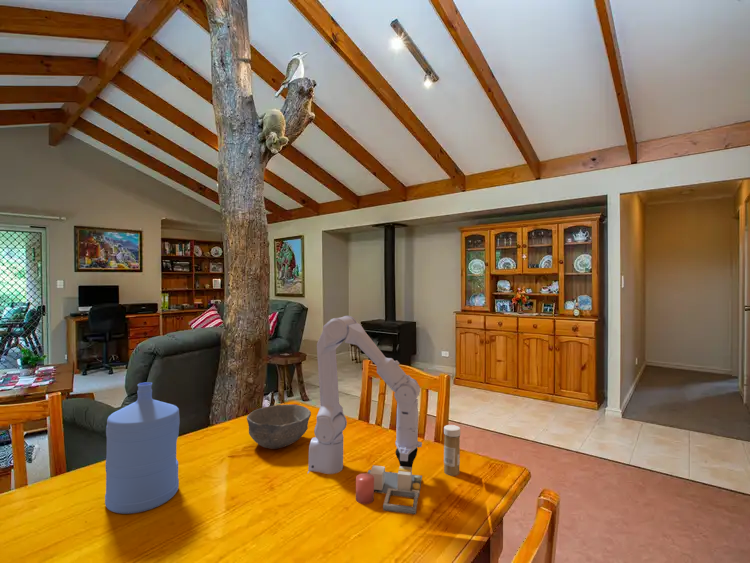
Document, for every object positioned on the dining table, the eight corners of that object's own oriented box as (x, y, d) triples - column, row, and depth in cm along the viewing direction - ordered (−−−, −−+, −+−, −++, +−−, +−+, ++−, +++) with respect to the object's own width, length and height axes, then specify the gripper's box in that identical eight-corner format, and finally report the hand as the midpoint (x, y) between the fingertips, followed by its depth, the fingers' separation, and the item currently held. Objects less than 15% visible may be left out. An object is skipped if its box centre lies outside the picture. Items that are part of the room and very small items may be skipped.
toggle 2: (397, 489, 100) (397, 473, 100) (399, 481, 104) (399, 465, 104) (409, 491, 99) (410, 474, 99) (411, 482, 104) (411, 466, 104)
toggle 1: (369, 488, 100) (369, 473, 100) (372, 480, 104) (373, 465, 104) (381, 490, 99) (382, 474, 99) (384, 481, 104) (385, 466, 104)
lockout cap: (353, 506, 95) (354, 481, 95) (358, 496, 99) (358, 472, 99) (371, 508, 94) (372, 483, 94) (375, 498, 98) (375, 474, 98)
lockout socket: (383, 513, 92) (383, 505, 92) (388, 496, 99) (388, 488, 99) (415, 517, 90) (415, 509, 90) (418, 499, 98) (418, 491, 98)
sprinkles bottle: (463, 476, 110) (463, 428, 110) (451, 480, 107) (452, 431, 107) (451, 469, 114) (452, 423, 114) (439, 473, 111) (440, 426, 111)
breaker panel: (359, 493, 100) (360, 486, 100) (368, 472, 111) (368, 466, 111) (418, 500, 97) (419, 493, 97) (422, 478, 108) (422, 472, 108)
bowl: (282, 427, 144) (282, 400, 144) (323, 441, 132) (323, 411, 132) (232, 445, 127) (233, 415, 127) (274, 464, 115) (275, 430, 115)
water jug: (147, 519, 88) (149, 395, 88) (87, 511, 91) (89, 390, 91) (191, 484, 103) (193, 378, 103) (139, 478, 106) (141, 374, 106)
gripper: (420, 437, 98) (419, 491, 98) (423, 417, 112) (422, 465, 112) (392, 434, 99) (391, 488, 99) (399, 415, 113) (398, 462, 113)
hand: (406, 476), depth 106 cm, fingers closed
